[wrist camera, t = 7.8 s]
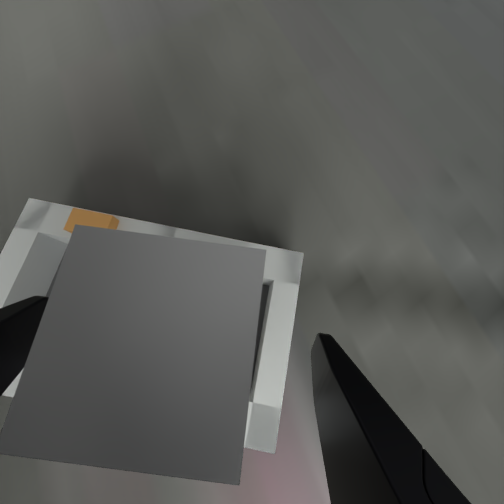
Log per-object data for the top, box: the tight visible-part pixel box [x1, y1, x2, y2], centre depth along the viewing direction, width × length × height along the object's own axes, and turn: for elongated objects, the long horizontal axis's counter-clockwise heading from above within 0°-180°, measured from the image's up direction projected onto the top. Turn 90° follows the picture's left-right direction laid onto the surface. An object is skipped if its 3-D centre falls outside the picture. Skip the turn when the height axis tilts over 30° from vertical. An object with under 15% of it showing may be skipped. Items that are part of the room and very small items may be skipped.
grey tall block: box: [0, 224, 266, 485], centre depth 10 cm, size 4×4×11 cm
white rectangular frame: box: [0, 198, 304, 454], centre depth 14 cm, size 10×18×4 cm, turn 79°
